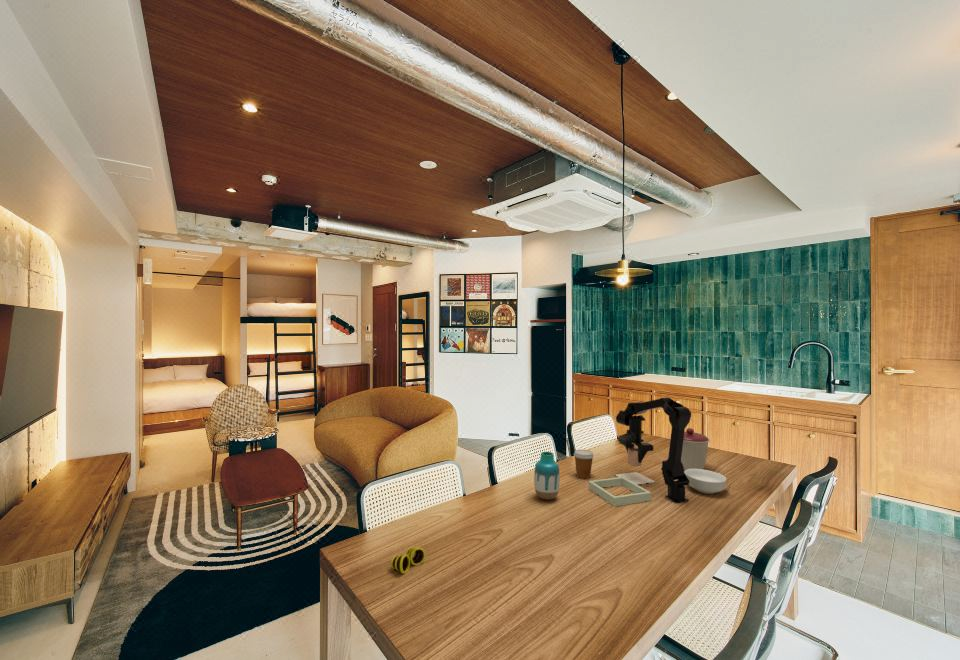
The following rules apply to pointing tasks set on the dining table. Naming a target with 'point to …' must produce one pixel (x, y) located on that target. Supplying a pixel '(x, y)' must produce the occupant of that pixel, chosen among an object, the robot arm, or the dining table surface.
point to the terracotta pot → (633, 457)
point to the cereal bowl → (706, 480)
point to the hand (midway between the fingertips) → (634, 460)
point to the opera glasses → (408, 559)
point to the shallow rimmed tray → (639, 495)
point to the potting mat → (636, 478)
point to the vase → (546, 477)
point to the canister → (694, 450)
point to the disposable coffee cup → (583, 462)
